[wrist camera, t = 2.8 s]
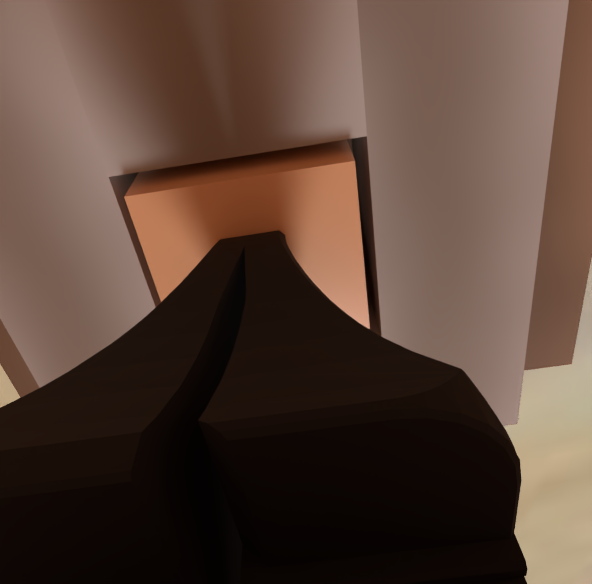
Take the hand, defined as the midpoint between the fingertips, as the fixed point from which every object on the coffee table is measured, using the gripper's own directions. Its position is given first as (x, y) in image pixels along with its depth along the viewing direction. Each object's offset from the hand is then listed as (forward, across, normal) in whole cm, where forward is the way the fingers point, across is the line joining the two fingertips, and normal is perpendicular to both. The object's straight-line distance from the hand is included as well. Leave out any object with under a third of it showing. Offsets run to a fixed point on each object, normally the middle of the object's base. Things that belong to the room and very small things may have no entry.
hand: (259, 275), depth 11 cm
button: (+3, 0, 0) cm, 3 cm away
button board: (+4, 0, 0) cm, 4 cm away
